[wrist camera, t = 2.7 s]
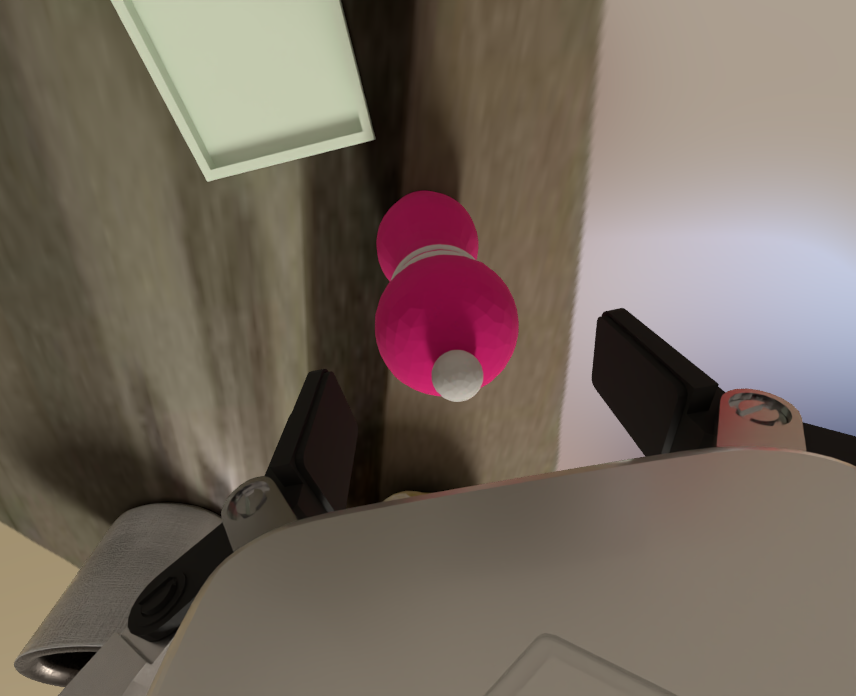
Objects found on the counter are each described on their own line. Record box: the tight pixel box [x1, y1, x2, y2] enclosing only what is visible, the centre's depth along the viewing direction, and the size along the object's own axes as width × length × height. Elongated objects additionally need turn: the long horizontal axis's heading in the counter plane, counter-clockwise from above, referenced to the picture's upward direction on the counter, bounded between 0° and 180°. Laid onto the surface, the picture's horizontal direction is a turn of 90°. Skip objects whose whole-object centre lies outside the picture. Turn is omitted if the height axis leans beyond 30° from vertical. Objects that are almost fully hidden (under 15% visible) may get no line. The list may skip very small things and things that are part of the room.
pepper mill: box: [375, 190, 518, 402], centre depth 19 cm, size 7×7×20 cm
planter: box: [14, 502, 222, 687], centre depth 42 cm, size 16×16×16 cm
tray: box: [111, 0, 376, 182], centre depth 20 cm, size 12×12×2 cm
